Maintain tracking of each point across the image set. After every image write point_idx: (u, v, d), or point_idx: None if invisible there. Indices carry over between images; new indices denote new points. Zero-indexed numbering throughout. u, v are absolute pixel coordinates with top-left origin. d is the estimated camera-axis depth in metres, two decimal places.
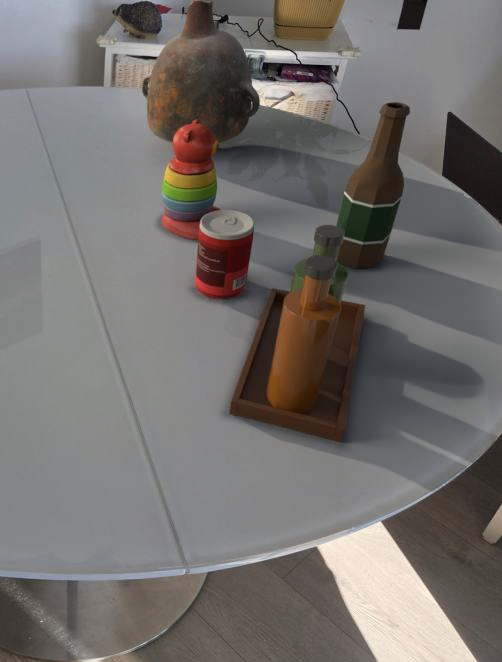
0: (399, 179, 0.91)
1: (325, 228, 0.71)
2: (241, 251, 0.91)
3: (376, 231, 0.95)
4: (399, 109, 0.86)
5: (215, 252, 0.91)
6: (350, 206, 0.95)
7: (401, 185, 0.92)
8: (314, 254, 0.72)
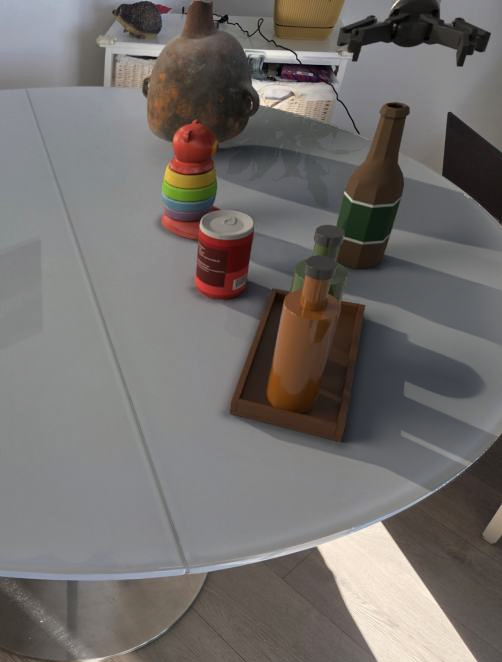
0: (399, 179, 0.91)
1: (325, 228, 0.71)
2: (241, 251, 0.91)
3: (376, 231, 0.95)
4: (399, 109, 0.86)
5: (215, 252, 0.91)
6: (350, 206, 0.95)
7: (401, 185, 0.92)
8: (314, 254, 0.72)
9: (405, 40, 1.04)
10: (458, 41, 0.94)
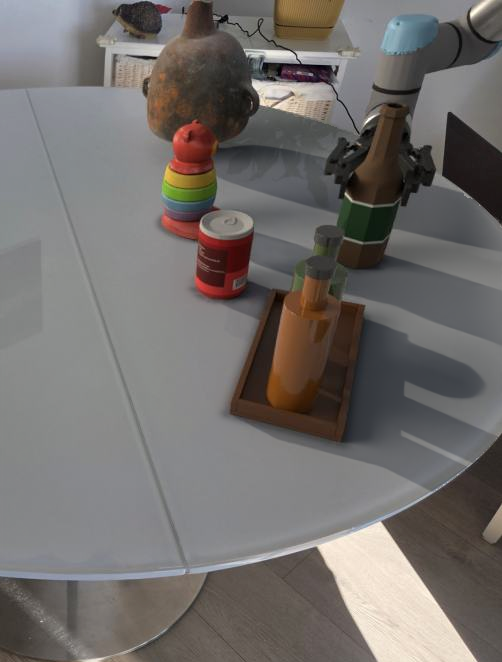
0: (399, 179, 0.91)
1: (325, 228, 0.71)
2: (241, 251, 0.91)
3: (376, 231, 0.95)
4: (399, 109, 0.86)
5: (215, 252, 0.91)
6: (350, 206, 0.95)
7: (401, 185, 0.92)
8: (314, 254, 0.72)
9: None
10: (407, 173, 0.94)
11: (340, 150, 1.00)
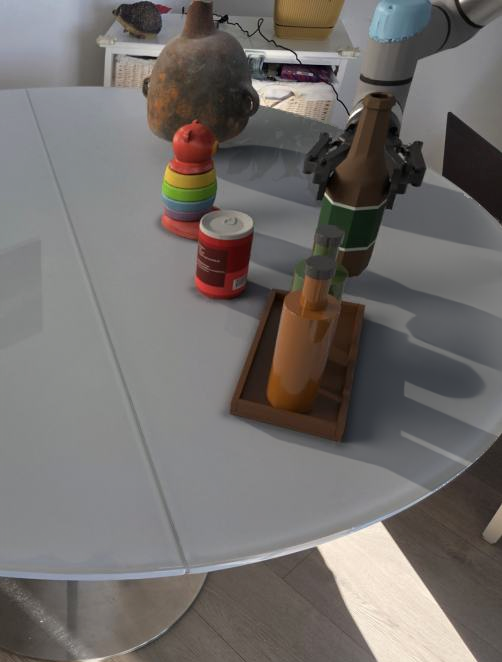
0: (385, 178, 0.81)
1: (325, 228, 0.71)
2: (241, 251, 0.91)
3: (359, 236, 0.85)
4: (383, 99, 0.76)
5: (215, 252, 0.91)
6: (330, 208, 0.85)
7: (387, 185, 0.82)
8: (314, 254, 0.72)
9: None
10: None
11: (321, 146, 0.90)
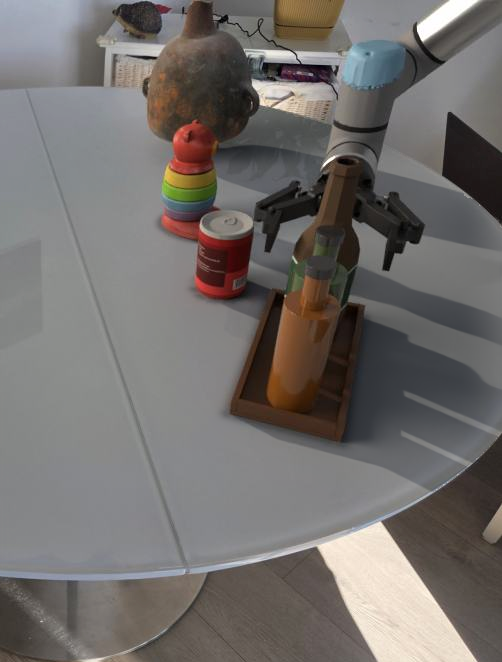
0: (354, 245, 0.77)
1: (325, 228, 0.71)
2: (241, 251, 0.91)
3: None
4: (350, 166, 0.72)
5: (215, 252, 0.91)
6: None
7: (356, 251, 0.78)
8: (314, 254, 0.72)
9: None
10: (388, 229, 0.80)
11: (280, 195, 0.87)
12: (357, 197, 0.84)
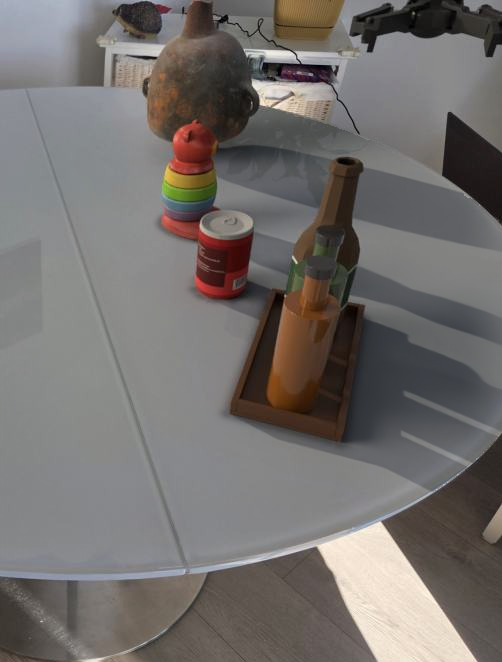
0: (354, 245, 0.77)
1: (325, 228, 0.71)
2: (241, 251, 0.91)
3: None
4: (350, 166, 0.72)
5: (215, 252, 0.91)
6: None
7: (356, 251, 0.78)
8: (314, 254, 0.72)
9: (424, 30, 0.94)
10: (486, 30, 0.84)
11: (375, 11, 0.90)
12: (451, 8, 0.88)
